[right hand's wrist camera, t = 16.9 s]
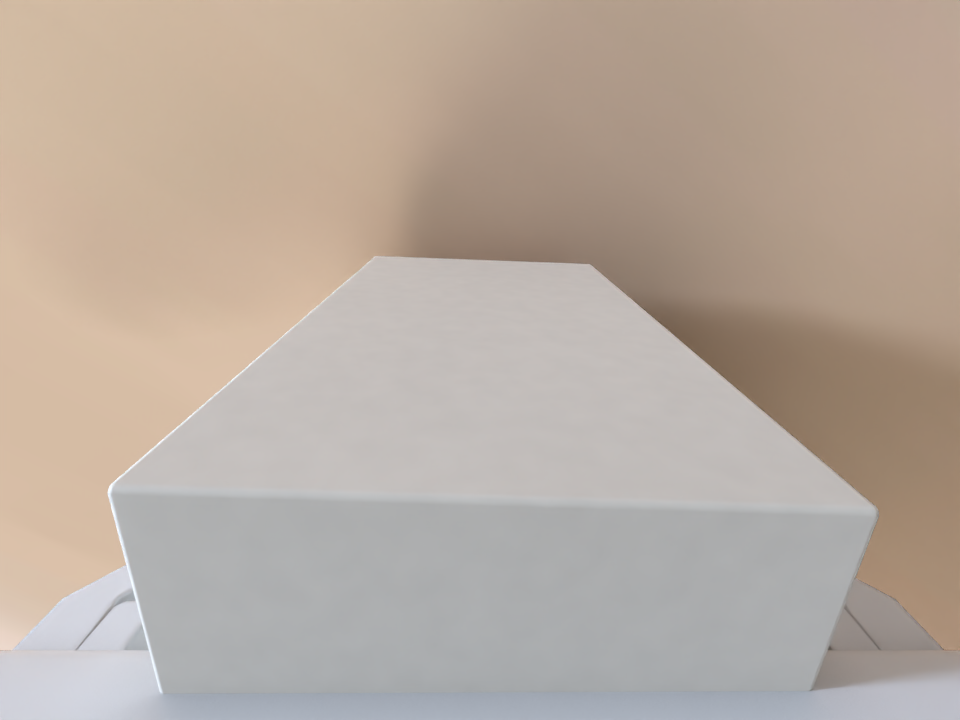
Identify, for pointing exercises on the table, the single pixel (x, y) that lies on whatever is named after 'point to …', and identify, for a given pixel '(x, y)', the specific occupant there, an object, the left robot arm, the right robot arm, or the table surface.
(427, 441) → the box
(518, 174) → the table surface
